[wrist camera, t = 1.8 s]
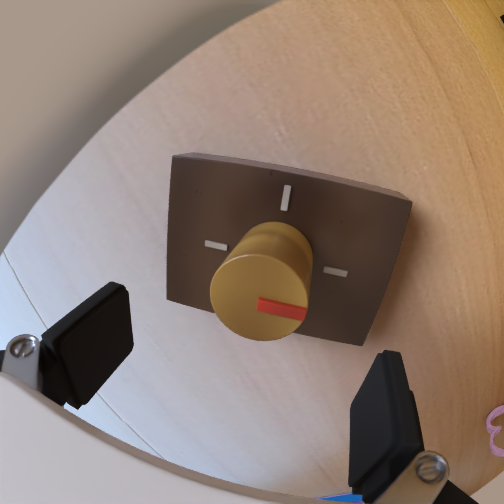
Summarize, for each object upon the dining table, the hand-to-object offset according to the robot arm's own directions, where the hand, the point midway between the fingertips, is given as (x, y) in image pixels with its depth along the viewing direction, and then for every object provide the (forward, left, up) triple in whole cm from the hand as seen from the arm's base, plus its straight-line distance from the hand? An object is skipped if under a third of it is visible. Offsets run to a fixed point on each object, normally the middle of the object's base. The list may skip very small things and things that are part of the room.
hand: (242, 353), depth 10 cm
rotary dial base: (0, 0, -11) cm, 11 cm away
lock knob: (0, 0, -8) cm, 8 cm away
